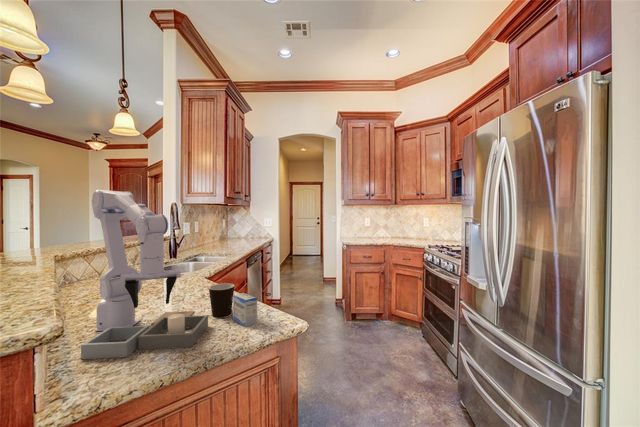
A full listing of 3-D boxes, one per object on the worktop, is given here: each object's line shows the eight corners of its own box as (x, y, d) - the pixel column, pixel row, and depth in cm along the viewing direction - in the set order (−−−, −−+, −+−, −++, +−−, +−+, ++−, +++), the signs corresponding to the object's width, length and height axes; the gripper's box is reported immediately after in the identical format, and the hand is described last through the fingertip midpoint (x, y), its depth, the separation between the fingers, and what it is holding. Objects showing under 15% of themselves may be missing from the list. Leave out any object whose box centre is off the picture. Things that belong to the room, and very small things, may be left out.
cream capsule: (164, 340, 76) (164, 319, 76) (171, 334, 81) (171, 313, 81) (181, 340, 77) (181, 319, 77) (187, 333, 81) (187, 313, 81)
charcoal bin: (138, 349, 71) (138, 336, 71) (163, 328, 85) (163, 316, 85) (191, 347, 73) (191, 334, 73) (207, 326, 86) (207, 315, 86)
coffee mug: (226, 320, 91) (226, 290, 91) (203, 318, 93) (203, 289, 93) (242, 308, 103) (242, 282, 103) (222, 306, 104) (222, 280, 104)
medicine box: (232, 321, 91) (232, 295, 91) (244, 317, 94) (244, 292, 94) (245, 327, 85) (245, 300, 85) (257, 323, 88) (257, 297, 88)
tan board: (151, 324, 88) (151, 323, 88) (165, 313, 98) (165, 312, 98) (183, 323, 89) (183, 322, 89) (194, 312, 99) (194, 311, 99)
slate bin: (81, 359, 67) (80, 345, 67) (110, 339, 77) (110, 327, 77) (126, 356, 68) (126, 343, 68) (149, 337, 78) (149, 325, 78)
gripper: (117, 261, 71) (117, 313, 71) (180, 257, 77) (180, 305, 77) (123, 257, 77) (123, 305, 77) (181, 254, 83) (181, 298, 83)
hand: (152, 304), depth 77 cm, fingers open, 7 cm apart
